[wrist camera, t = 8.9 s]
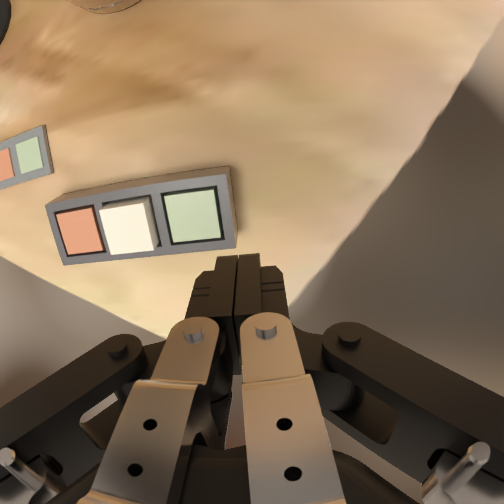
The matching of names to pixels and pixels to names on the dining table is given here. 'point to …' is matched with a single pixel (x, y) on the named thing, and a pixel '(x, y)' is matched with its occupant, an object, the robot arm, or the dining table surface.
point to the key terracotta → (80, 229)
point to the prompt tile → (25, 157)
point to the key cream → (130, 225)
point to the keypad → (157, 190)
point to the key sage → (194, 214)
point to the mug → (4, 17)
